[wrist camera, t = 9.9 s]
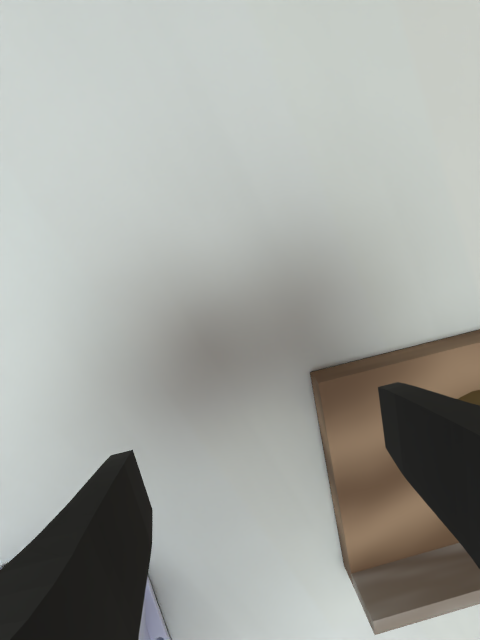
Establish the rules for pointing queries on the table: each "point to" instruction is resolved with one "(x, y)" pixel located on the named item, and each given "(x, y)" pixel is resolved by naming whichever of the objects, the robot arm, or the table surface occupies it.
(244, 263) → the table surface
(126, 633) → the robot arm
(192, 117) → the table surface
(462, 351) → the tan wooden plank
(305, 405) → the table surface
